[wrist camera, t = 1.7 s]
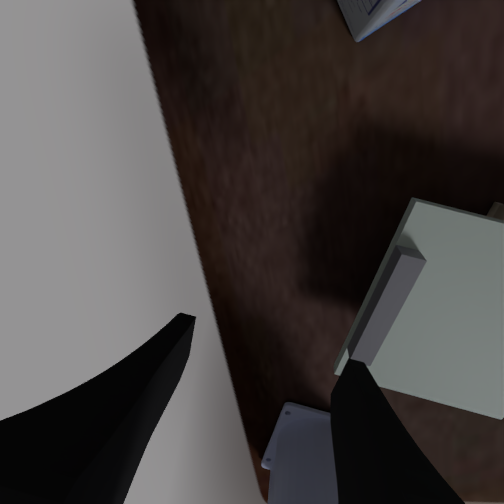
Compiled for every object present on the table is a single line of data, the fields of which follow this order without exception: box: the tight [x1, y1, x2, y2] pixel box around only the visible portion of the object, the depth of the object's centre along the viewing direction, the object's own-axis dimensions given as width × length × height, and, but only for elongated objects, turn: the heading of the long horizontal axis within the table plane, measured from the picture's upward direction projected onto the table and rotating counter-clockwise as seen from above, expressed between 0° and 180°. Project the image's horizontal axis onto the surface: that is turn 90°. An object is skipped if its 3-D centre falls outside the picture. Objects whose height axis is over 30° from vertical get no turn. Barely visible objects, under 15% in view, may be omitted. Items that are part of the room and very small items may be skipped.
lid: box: [334, 197, 504, 420], centre depth 17 cm, size 12×11×2 cm
